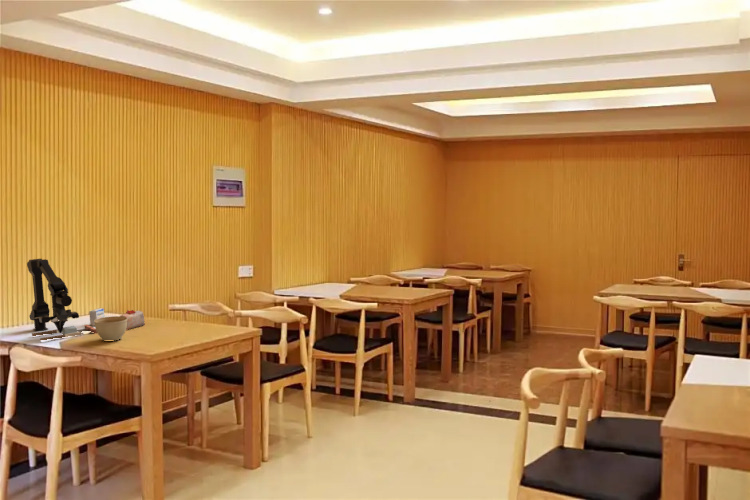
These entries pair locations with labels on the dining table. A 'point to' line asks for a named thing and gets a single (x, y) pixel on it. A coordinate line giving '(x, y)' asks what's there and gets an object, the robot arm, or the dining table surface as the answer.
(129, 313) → the food item
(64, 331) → the block
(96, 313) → the medicine box
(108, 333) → the planter bowl
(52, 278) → the robot arm
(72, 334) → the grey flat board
